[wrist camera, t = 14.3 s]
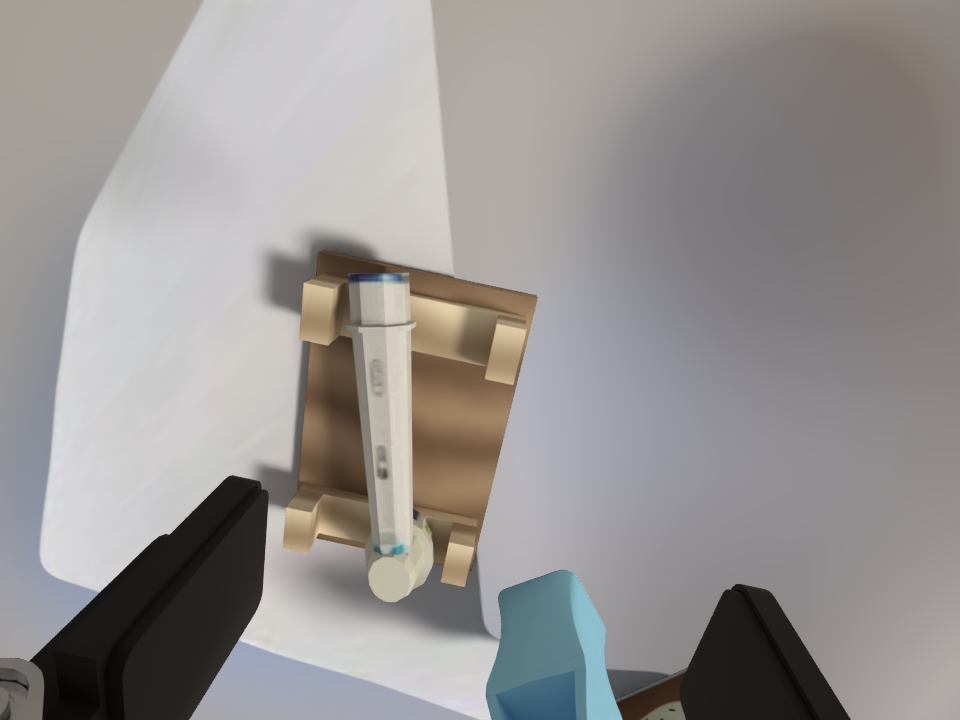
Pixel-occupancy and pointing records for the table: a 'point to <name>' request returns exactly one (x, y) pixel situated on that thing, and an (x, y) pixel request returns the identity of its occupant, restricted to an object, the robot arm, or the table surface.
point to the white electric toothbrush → (388, 432)
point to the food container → (654, 700)
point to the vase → (550, 654)
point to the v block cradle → (435, 408)
